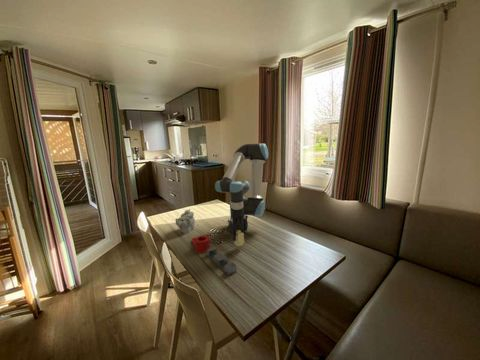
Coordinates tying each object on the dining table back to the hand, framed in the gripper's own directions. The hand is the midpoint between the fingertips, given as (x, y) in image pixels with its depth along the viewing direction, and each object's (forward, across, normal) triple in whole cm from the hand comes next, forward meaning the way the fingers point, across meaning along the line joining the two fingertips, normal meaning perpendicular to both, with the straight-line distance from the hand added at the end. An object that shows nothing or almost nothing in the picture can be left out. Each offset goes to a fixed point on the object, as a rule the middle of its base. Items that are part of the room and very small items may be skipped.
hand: (239, 243), depth 126 cm
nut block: (0, 0, 0) cm, 0 cm away
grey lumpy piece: (+4, -18, +44) cm, 48 cm away
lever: (+4, -18, +19) cm, 27 cm away
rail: (+3, -17, -6) cm, 18 cm away
